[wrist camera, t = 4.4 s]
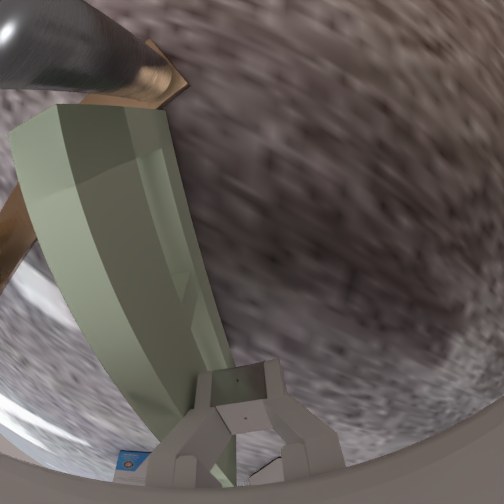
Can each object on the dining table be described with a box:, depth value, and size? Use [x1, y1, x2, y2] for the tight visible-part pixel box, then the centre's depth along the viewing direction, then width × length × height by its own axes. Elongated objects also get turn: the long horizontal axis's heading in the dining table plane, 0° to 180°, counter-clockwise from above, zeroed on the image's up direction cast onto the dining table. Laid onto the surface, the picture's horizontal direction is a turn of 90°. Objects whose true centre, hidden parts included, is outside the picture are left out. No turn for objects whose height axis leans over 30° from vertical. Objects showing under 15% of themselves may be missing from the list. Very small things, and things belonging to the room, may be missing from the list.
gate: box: [8, 104, 237, 487], centre depth 11 cm, size 15×1×8 cm, turn 11°
